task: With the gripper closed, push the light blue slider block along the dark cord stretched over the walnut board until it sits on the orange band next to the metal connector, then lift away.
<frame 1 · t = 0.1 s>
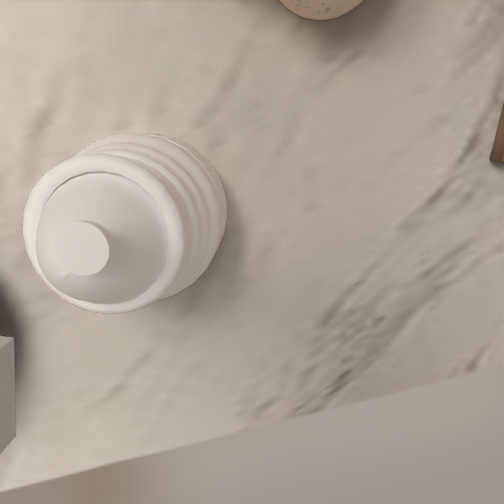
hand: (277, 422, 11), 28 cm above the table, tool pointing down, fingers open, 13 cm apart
honey pot: (153, 209, 38), on the table
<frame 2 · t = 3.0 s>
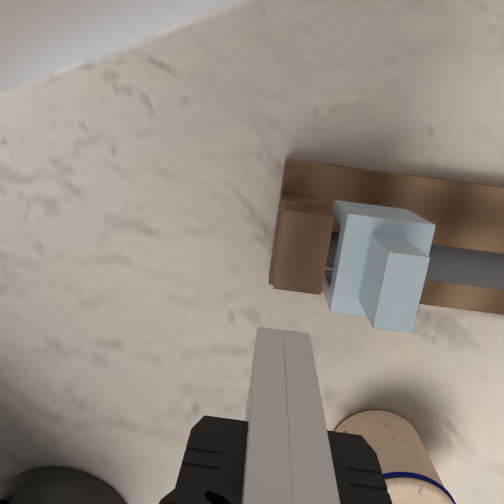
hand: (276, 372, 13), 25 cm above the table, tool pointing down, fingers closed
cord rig: (426, 239, 37), on the table
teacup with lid: (374, 458, 43), on the table
light blue slider block: (378, 266, 27), point 11 cm above the table, slide at 0.0 cm
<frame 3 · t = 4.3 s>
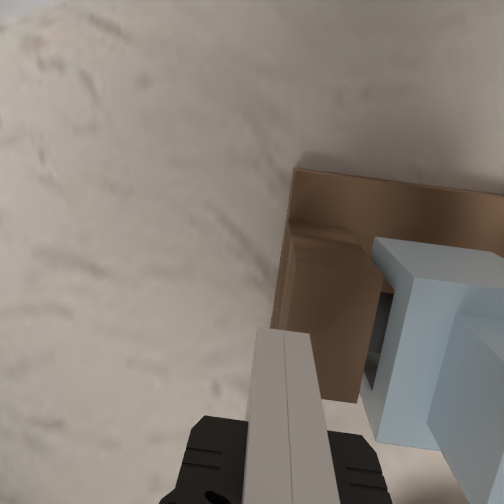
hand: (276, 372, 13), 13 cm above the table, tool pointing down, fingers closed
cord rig: (498, 284, 25), on the table
light blue slider block: (461, 362, 15), point 11 cm above the table, slide at 0.0 cm
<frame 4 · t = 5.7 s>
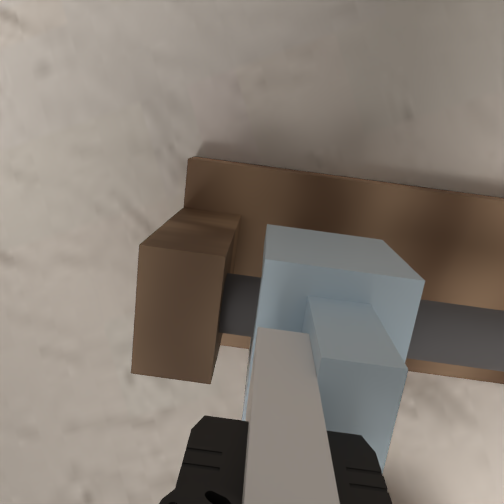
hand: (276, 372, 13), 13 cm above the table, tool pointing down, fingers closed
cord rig: (401, 273, 25), on the table
light blue slider block: (325, 345, 15), point 11 cm above the table, slide at 0.8 cm, touching gripper
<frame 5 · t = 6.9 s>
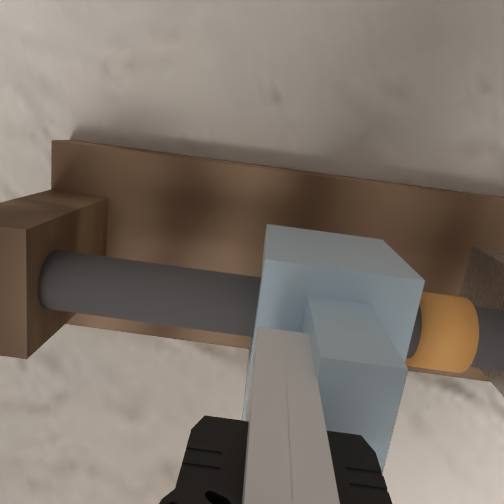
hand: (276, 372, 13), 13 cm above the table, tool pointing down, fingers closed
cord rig: (281, 257, 26), on the table
light blue slider block: (325, 345, 15), point 11 cm above the table, slide at 7.8 cm, touching gripper
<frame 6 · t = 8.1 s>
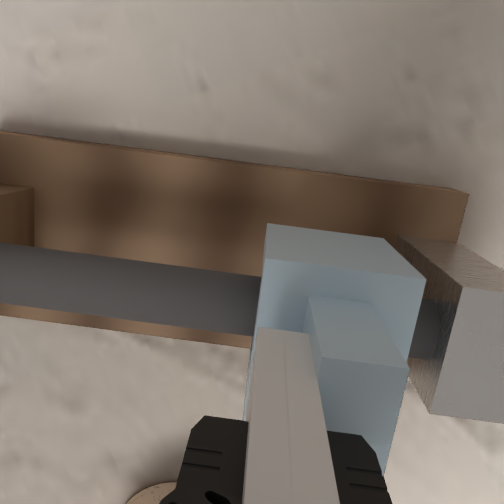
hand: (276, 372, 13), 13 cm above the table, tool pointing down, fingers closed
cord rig: (215, 247, 25), on the table
light blue slider block: (326, 345, 15), point 11 cm above the table, slide at 11.7 cm, touching gripper
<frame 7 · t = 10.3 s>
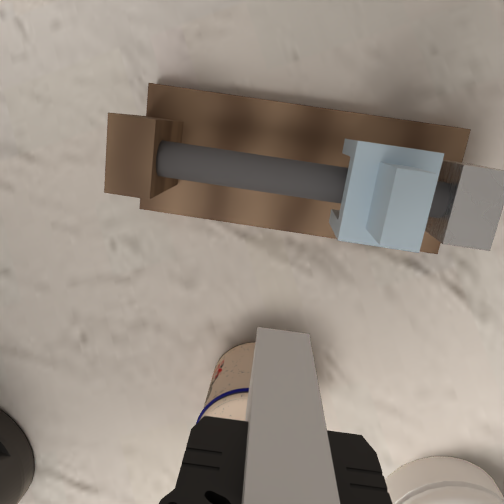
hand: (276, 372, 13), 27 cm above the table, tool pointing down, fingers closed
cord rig: (296, 168, 37), on the table
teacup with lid: (259, 392, 44), on the table
light blue slider block: (386, 196, 27), point 11 cm above the table, slide at 11.7 cm
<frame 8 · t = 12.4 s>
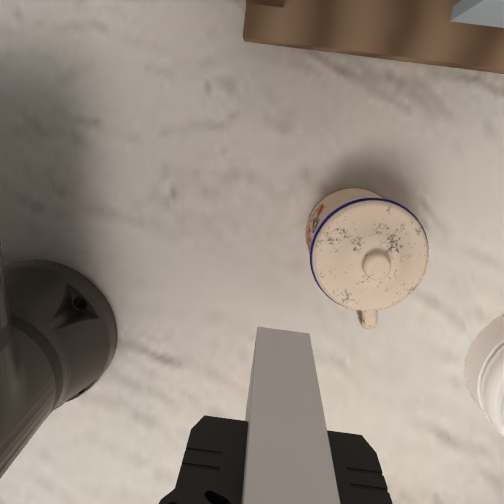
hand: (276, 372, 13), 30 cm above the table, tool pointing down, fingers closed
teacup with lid: (351, 246, 43), on the table
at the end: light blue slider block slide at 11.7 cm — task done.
